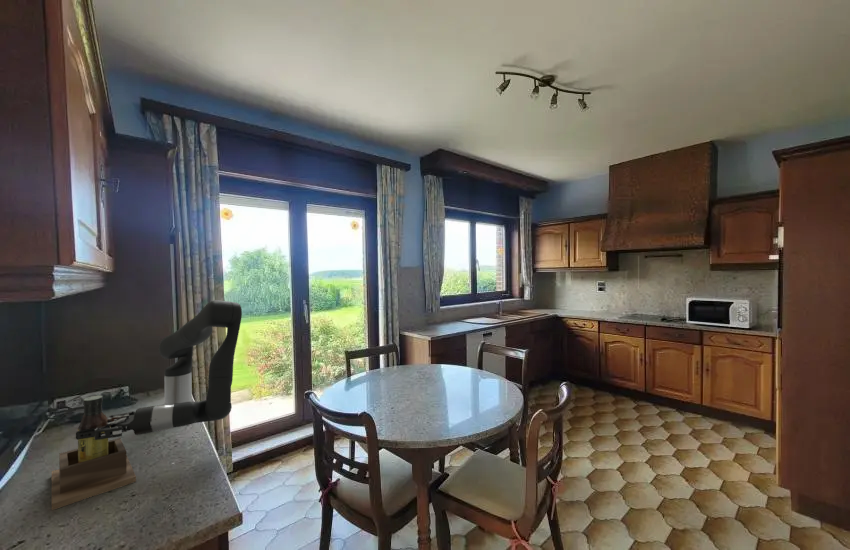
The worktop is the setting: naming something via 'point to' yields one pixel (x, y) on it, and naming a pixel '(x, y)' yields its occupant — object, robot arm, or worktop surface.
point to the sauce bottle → (91, 419)
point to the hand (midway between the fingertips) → (81, 430)
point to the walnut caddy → (90, 475)
